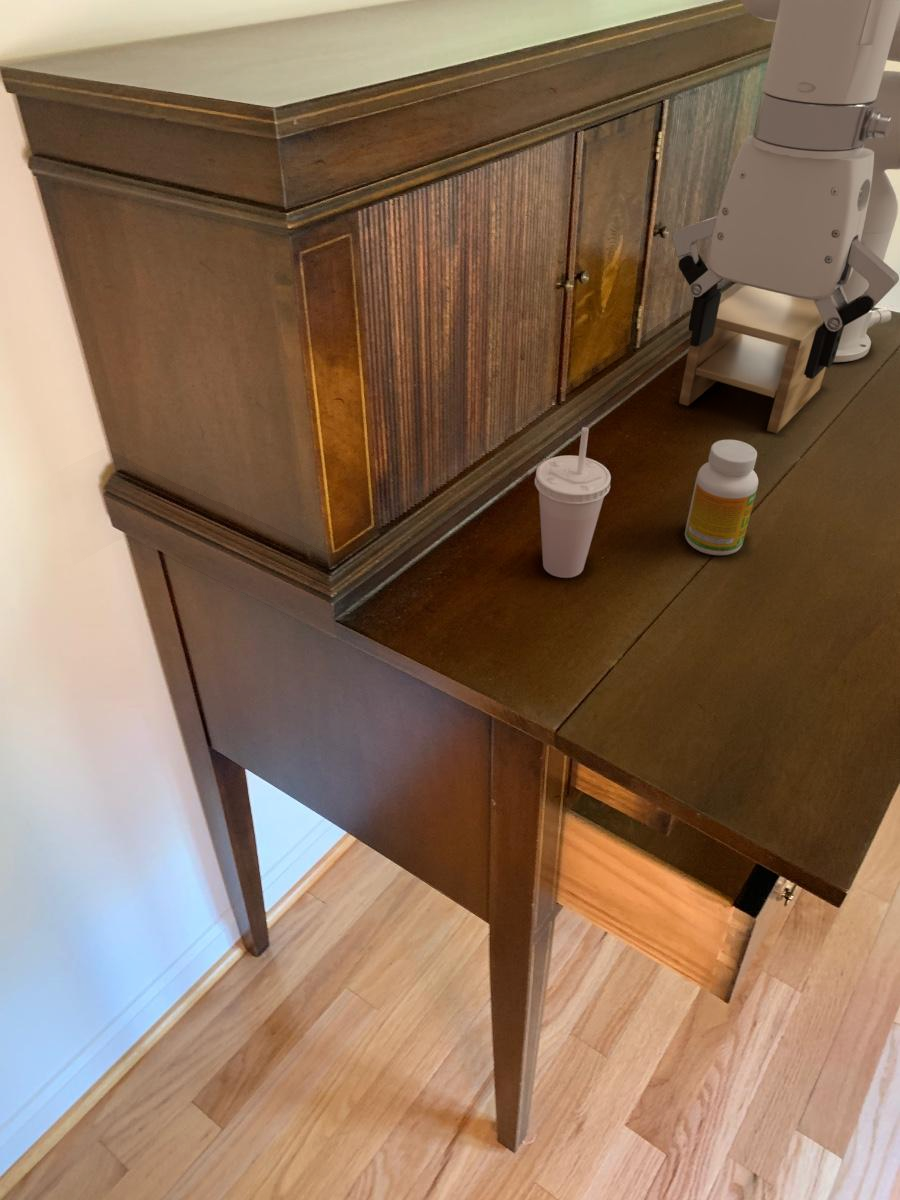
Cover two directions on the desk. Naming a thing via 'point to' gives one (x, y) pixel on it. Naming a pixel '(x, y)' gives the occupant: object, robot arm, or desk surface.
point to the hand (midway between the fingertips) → (756, 356)
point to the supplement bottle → (723, 499)
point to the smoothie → (569, 508)
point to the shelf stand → (758, 350)
